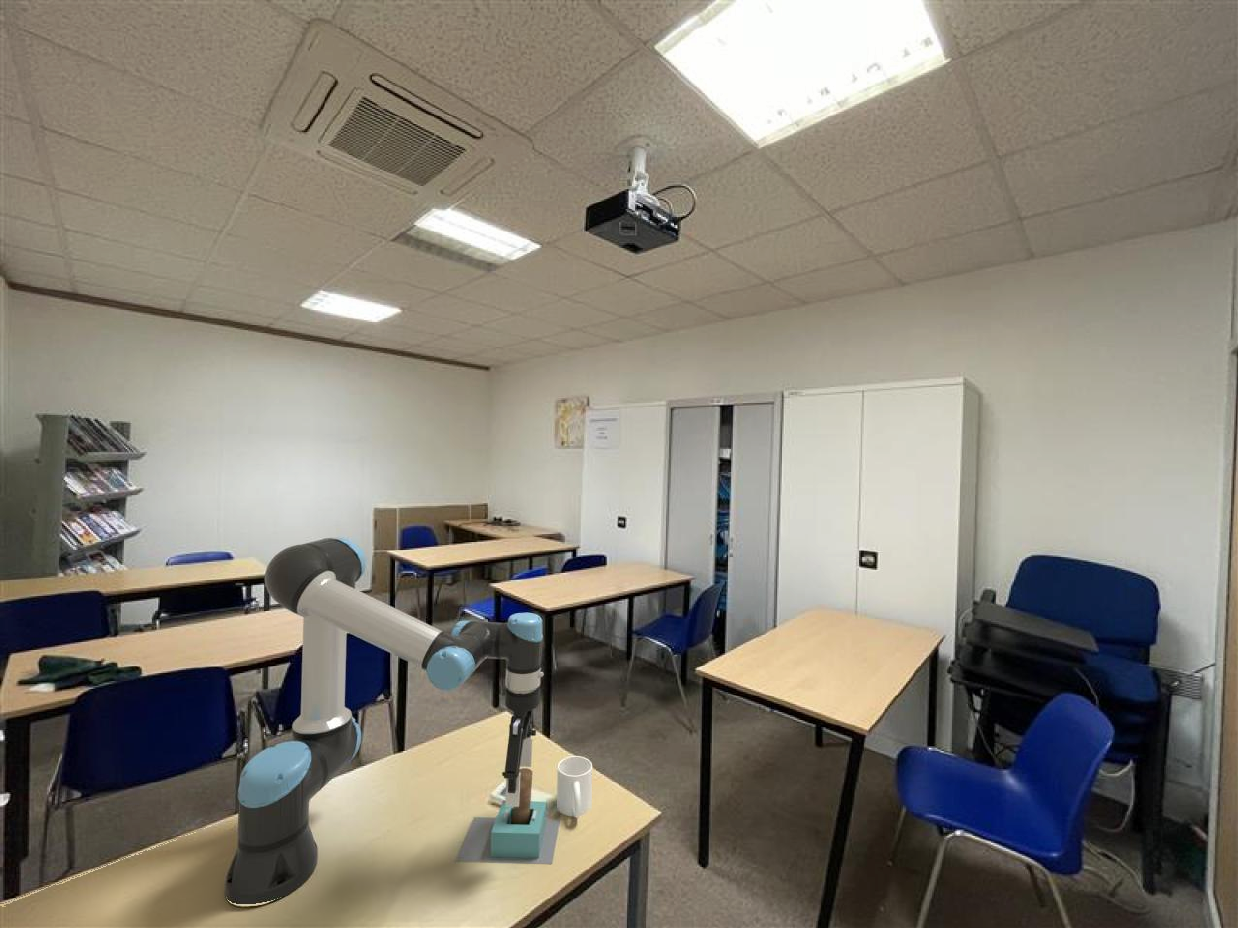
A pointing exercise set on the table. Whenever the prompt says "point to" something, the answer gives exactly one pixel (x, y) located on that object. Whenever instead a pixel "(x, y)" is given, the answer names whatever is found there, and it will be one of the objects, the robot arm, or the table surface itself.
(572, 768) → the mug
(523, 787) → the wooden rounded dowel
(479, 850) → the board
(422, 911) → the table surface
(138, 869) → the table surface
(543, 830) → the teal square peg holder
